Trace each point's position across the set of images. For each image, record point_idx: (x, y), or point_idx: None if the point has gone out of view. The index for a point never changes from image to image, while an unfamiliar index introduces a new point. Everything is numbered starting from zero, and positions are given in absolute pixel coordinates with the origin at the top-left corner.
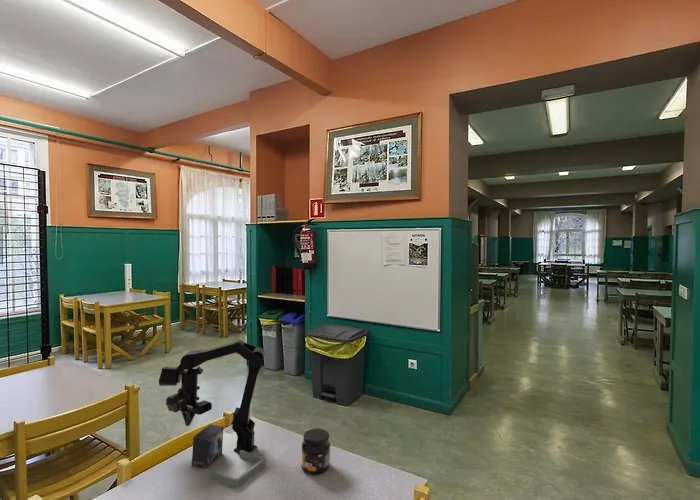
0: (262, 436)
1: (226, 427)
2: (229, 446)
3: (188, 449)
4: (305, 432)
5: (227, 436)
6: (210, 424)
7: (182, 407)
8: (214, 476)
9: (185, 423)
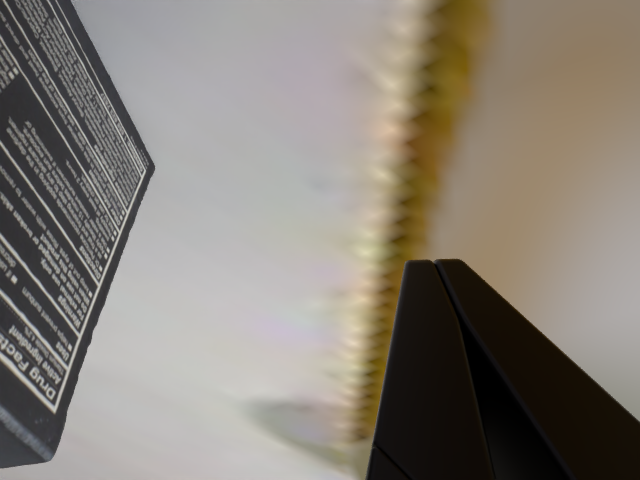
0: None
1: (349, 429)
2: None
3: (376, 83)
4: None
5: (233, 373)
6: (22, 463)
7: None
8: None
9: (488, 292)
